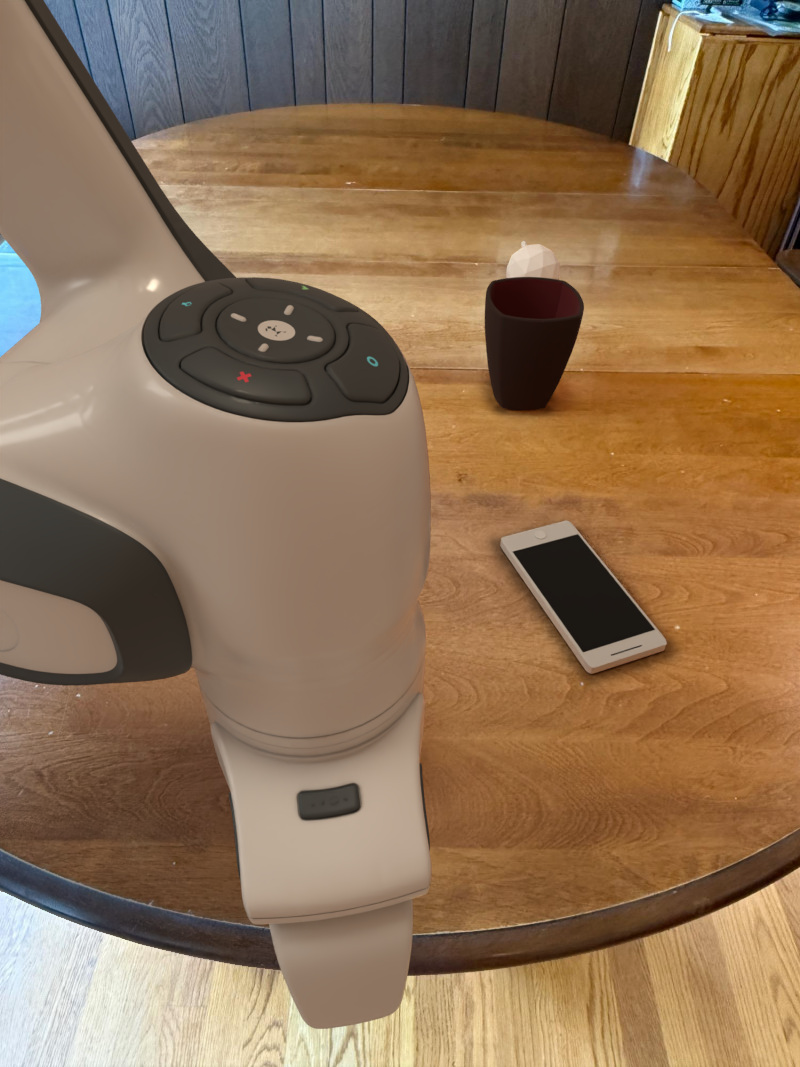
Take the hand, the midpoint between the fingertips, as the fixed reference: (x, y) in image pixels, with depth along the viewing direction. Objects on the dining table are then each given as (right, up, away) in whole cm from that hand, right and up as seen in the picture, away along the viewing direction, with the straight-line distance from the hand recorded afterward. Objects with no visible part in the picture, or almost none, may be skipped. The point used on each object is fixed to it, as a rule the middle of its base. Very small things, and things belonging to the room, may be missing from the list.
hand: (333, 841), depth 41 cm
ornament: (+21, +48, +65) cm, 84 cm away
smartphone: (+18, +11, +24) cm, 33 cm away
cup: (+17, +33, +48) cm, 61 cm away
